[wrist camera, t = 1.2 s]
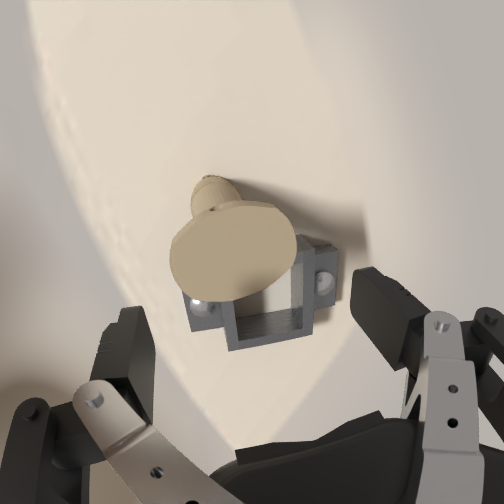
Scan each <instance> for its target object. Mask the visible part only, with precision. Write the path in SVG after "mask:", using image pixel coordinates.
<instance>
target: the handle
mask: <svg viewBox="0 0 504 504" xmlns="http://www.w3.org/2000/svg"><path fill="white" fill-rule="evenodd" d="M191 211H192V215H193V219H192V220H190V221H189V222H188V223H187V224H186V225H185V226H184V227H183V228H182V229H181V230H180V231H179V233H178V234H177V235H176V236H175V237H174V238H173V240H172V244H171V249H170V267H171V271H172V274H173V277H174V279H175V281H176V282H177V284H178V286H179V287H180V288H181V290H182V291H183V292H184V293H185V294H186V295H188V296H189V297H191V298H192V299H194V300H196V301H213V302H224V301H232V300H236V299H240V298H243V297H245V296H248V295H251V294H254V293H256V292H259V291H261V290H263V289H265V288H267V287H268V286H270V285H271V284H273V283H274V282H275V281H276V280H277V279H278V278H280V277H281V276H282V275H283V274H284V273H285V272H286V271H287V270H288V269H289V268H290V267H292V266H293V263H294V261H295V257H296V253H297V242H296V236H295V233H294V230H293V227H292V225H291V223H290V221H289V220H288V218H287V217H286V216H285V215H284V214H283V213H282V212H281V211H280V210H279V209H278V208H277V207H276V206H274V205H273V204H271V203H266V202H258V201H246V200H242V198H241V195H240V194H239V192H238V191H237V189H236V188H235V187H234V186H233V185H232V184H231V183H230V182H229V181H227V180H226V179H224V178H222V177H217V176H211V175H206V176H204V177H203V179H202V180H201V181H200V182H199V183H198V184H197V185H196V187H195V188H194V191H193V194H192V198H191Z"/></svg>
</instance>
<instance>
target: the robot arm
mask: <svg viewBox="0 0 504 504" xmlns="http://www.w3.org/2000/svg"><path fill="white" fill-rule="evenodd" d="M350 310H351V314H352V316H353V318H354V319H355V321H356V322H357V323H358V324H359V326H360V327H361V328H362V329H363V331H364V332H365V333H366V335H367V336H368V337H369V338H370V340H371V341H372V342H373V344H374V345H375V346H376V347H377V349H378V350H379V351H380V353H381V354H382V355H383V357H384V358H385V359H386V360H387V362H388V363H389V364H390V366H391V367H392V368H393V370H394V371H397V370H399V369H402V368H404V367H406V368H407V369H408V372H407V375H406V382H405V391H404V398H403V404H402V411H401V416H400V418H386V419H384V418H383V416H382V415H381V413H380V411H379V410H378V411H375V412H373V413H370V414H367V415H365V416H362V417H359V418H357V419H354V420H351V421H348V422H346V423H344V424H343V425H341V426H339V427H338V428H336V429H334V430H333V431H331V432H329V433H327V434H326V435H324V436H322V437H320V438H319V439H317V440H314V441H302V442H278V443H277V442H275V443H274V442H273V443H268V444H264V445H259V446H254V447H249V448H243V449H238V450H235V453H236V457H237V460H235V461H232V462H230V463H228V464H226V465H224V466H222V467H220V468H219V469H217V470H216V471H214V472H213V473H212V474H211V475H210V476H208V475H206V474H205V473H204V472H203V471H202V470H200V469H199V468H198V467H197V466H196V465H195V464H193V463H192V462H191V461H190V460H189V459H188V458H187V457H185V456H184V455H183V454H182V453H181V452H180V451H179V450H178V449H176V447H175V446H173V445H172V444H171V443H170V442H169V441H168V440H167V439H166V438H165V437H164V436H163V435H162V434H161V433H160V432H159V431H158V430H157V429H156V428H155V427H154V426H153V425H152V424H153V392H154V372H155V345H154V340H153V337H152V334H151V331H150V328H149V325H148V322H147V319H146V315H145V312H144V309H143V307H142V306H134V307H127V308H122V309H121V311H120V315H119V319H118V322H117V323H110V325H109V326H108V327H107V328H106V330H105V331H104V332H103V334H102V337H101V340H100V345H99V347H98V353H97V354H96V358H95V361H94V365H93V369H92V373H91V376H90V380H89V382H87V383H85V384H83V385H82V386H80V387H79V388H78V389H77V390H76V392H75V393H74V395H73V399H72V401H71V402H68V403H64V404H61V405H58V406H55V407H50V406H49V405H48V403H47V402H46V401H45V400H44V399H41V398H30V399H27V400H25V401H24V402H22V403H21V404H20V405H19V406H18V407H17V409H16V411H15V413H14V416H13V420H12V423H11V427H10V430H9V434H8V438H7V442H6V446H5V450H4V454H3V458H2V463H1V468H0V504H89V477H90V465H91V464H94V463H98V462H101V461H104V460H107V461H108V462H109V464H110V465H111V466H112V468H113V469H114V470H115V471H116V473H117V474H118V475H119V477H120V478H121V479H122V480H123V482H124V483H125V484H126V485H127V487H128V488H129V489H130V490H131V491H132V492H133V494H134V495H135V496H136V497H137V498H138V499H139V500H140V502H141V503H142V504H504V451H502V450H499V449H496V448H492V447H489V446H486V445H483V444H480V443H479V422H478V421H479V418H478V407H479V408H480V410H481V411H482V412H483V414H484V415H485V417H486V418H487V419H488V420H489V422H490V423H491V425H492V426H493V428H494V429H495V430H496V432H497V433H498V435H499V436H500V438H501V439H502V440H503V442H504V382H503V381H502V379H501V378H500V377H499V376H498V375H497V374H496V372H495V371H494V370H493V369H492V368H491V367H490V366H489V362H490V360H491V358H492V356H493V354H495V355H496V356H497V358H498V359H499V360H500V361H501V362H502V363H503V364H504V315H503V314H502V313H501V312H499V311H498V310H496V309H493V308H489V307H483V308H479V309H478V310H477V311H476V314H475V316H474V319H473V320H472V321H463V322H459V321H458V319H457V318H456V317H454V316H453V315H451V314H449V313H447V312H442V311H434V312H431V311H430V310H429V309H428V308H427V307H426V306H424V305H423V304H422V303H421V302H420V301H419V300H418V299H417V298H416V297H414V296H413V295H411V293H410V292H409V291H408V290H407V289H405V288H404V287H403V286H402V285H401V284H400V283H399V282H397V281H395V280H394V279H391V278H389V277H387V276H384V275H383V274H381V273H380V272H379V271H378V270H377V269H376V268H374V267H367V268H362V269H357V270H355V271H354V272H353V277H352V288H351V298H350Z"/></svg>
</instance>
